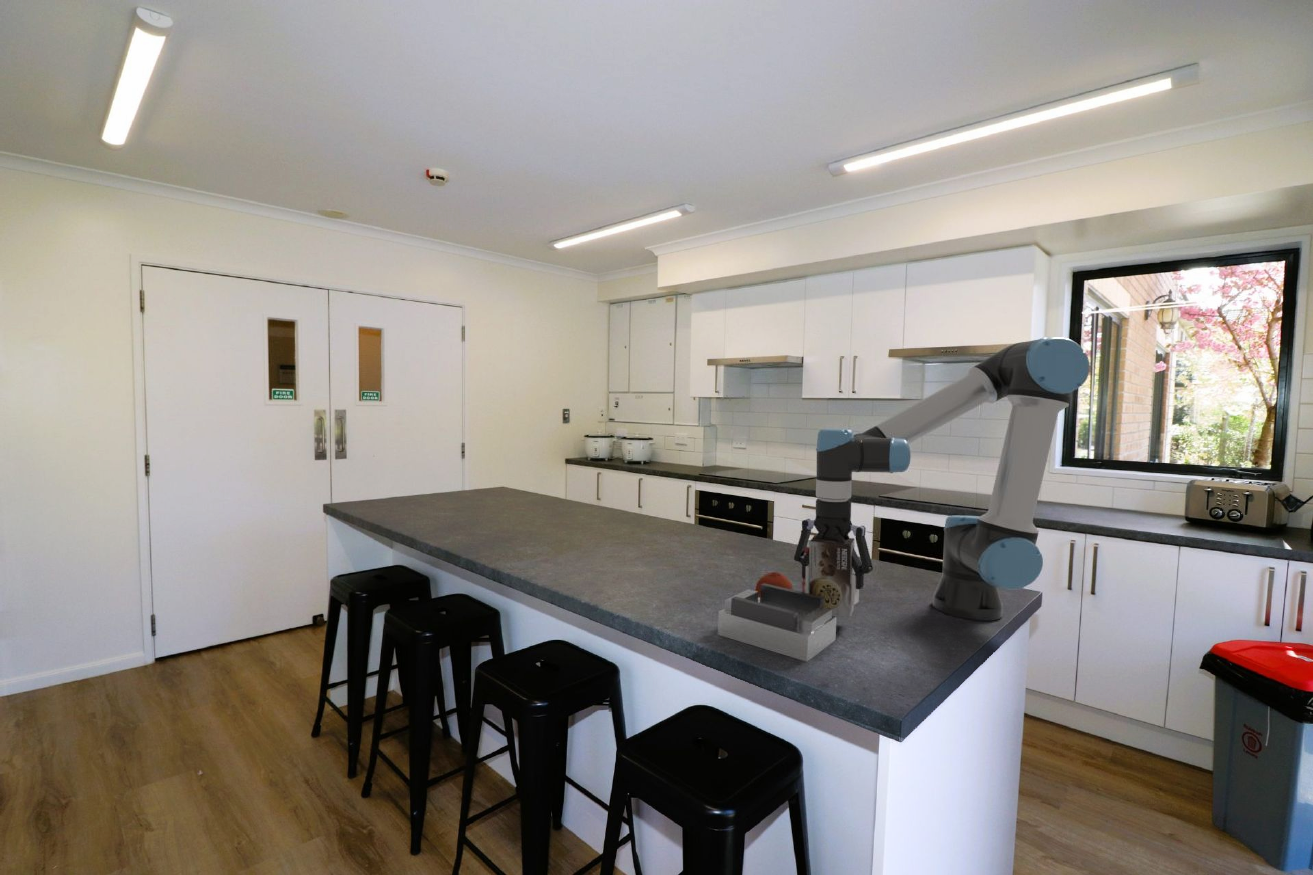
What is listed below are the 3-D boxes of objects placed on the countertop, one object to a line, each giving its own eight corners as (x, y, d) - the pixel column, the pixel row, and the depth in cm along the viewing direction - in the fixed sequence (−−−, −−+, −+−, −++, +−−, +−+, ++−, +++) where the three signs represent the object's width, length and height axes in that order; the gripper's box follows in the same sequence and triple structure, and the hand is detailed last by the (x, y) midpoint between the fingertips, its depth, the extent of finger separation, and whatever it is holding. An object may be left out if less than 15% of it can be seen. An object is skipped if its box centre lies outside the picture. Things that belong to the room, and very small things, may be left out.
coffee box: (854, 608, 138) (856, 537, 137) (850, 617, 132) (852, 544, 131) (813, 602, 141) (814, 533, 140) (807, 611, 136) (809, 539, 135)
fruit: (752, 598, 153) (753, 567, 152) (788, 599, 153) (789, 568, 152) (757, 610, 144) (758, 577, 144) (795, 612, 144) (796, 578, 143)
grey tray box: (835, 640, 127) (837, 600, 127) (807, 661, 116) (808, 617, 116) (750, 616, 140) (752, 580, 139) (717, 634, 129) (719, 594, 128)
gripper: (890, 501, 131) (888, 603, 132) (793, 491, 145) (792, 584, 146) (879, 506, 125) (876, 613, 127) (779, 495, 139) (777, 592, 140)
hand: (831, 597), depth 136 cm, fingers closed on coffee box, 10 cm apart
